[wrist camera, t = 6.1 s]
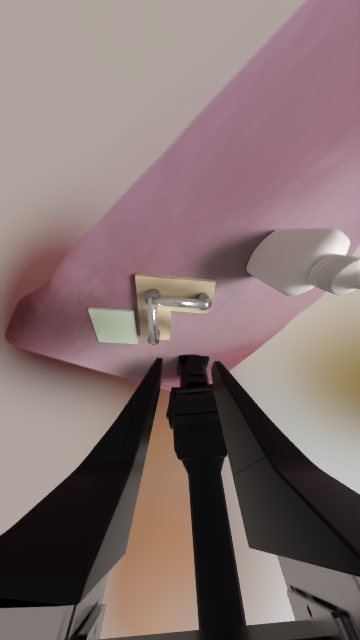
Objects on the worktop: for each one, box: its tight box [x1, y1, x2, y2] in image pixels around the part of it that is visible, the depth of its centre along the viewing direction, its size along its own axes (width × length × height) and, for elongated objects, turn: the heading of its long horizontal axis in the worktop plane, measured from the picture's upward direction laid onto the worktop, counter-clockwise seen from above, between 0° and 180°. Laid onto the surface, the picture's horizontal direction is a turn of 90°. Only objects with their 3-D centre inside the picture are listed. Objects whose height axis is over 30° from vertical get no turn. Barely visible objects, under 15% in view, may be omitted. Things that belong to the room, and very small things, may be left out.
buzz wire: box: [135, 273, 216, 345], centre depth 21 cm, size 11×11×4 cm
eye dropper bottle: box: [246, 228, 360, 296], centre depth 13 cm, size 4×6×12 cm
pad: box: [88, 307, 138, 344], centre depth 23 cm, size 7×7×1 cm
